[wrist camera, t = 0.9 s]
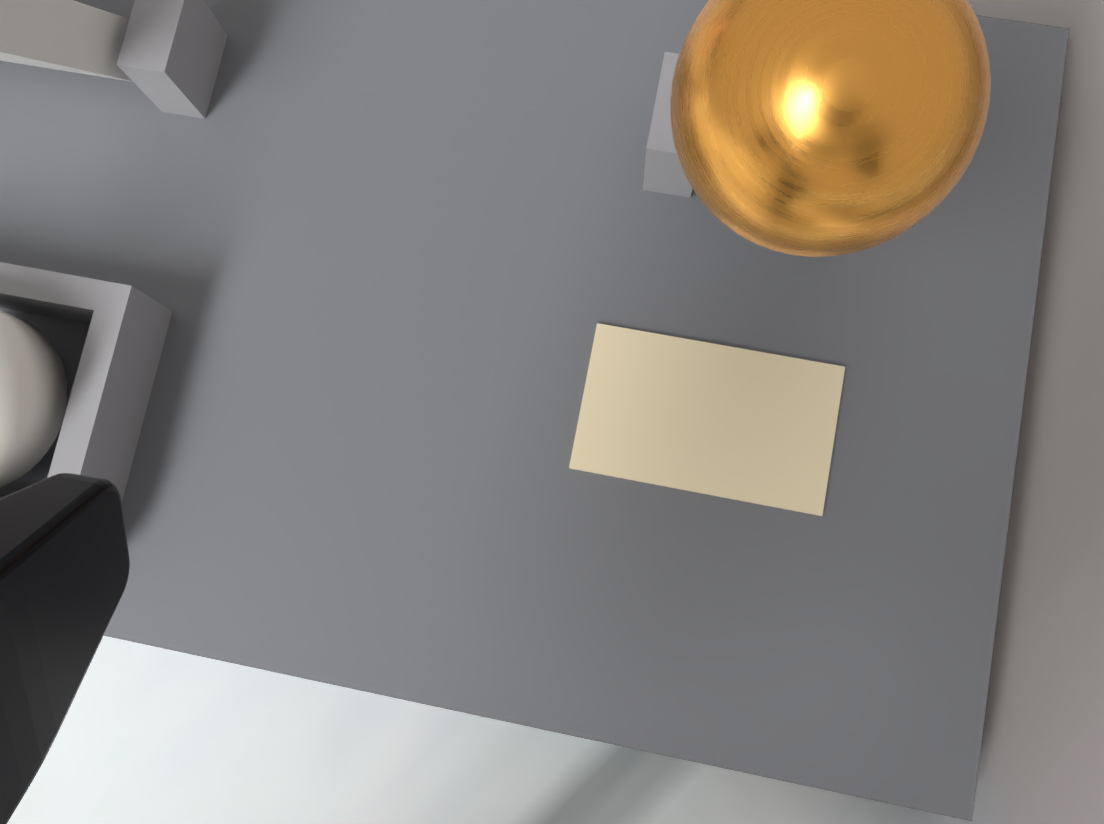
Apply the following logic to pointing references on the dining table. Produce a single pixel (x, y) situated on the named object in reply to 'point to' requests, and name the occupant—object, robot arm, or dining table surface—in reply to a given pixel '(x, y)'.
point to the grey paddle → (62, 36)
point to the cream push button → (27, 396)
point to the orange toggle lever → (828, 116)
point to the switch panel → (530, 381)
